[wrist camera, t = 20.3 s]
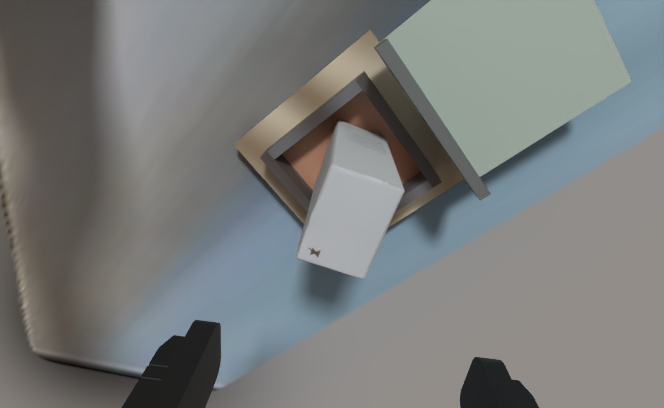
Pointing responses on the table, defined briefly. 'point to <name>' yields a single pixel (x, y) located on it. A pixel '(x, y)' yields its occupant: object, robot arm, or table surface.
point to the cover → (501, 73)
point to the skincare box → (351, 202)
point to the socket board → (356, 109)
